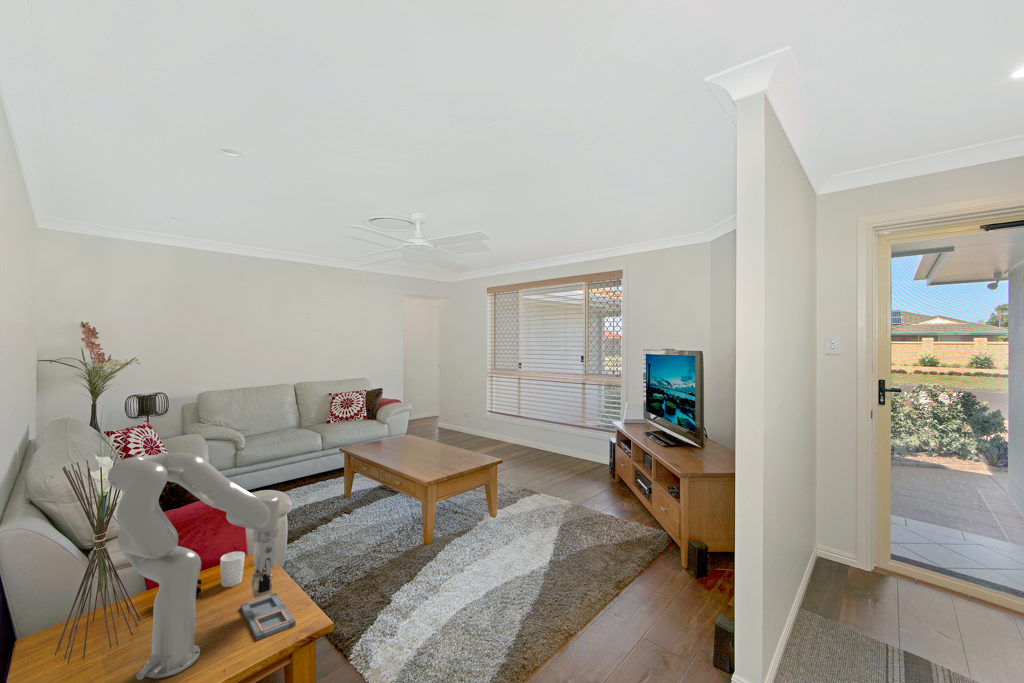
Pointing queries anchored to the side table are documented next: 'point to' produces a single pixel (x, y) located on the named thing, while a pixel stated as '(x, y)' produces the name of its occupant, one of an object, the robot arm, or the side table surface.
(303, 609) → the side table surface
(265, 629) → the grey slotted tray
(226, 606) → the side table surface
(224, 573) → the white cup
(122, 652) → the side table surface
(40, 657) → the side table surface
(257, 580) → the birch block
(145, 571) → the robot arm
